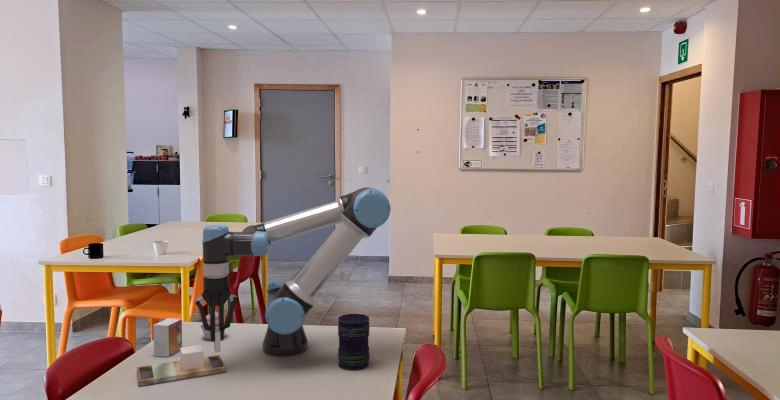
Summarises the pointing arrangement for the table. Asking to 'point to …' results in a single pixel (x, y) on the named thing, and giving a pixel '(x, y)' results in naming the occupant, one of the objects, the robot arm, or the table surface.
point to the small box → (167, 337)
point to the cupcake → (207, 333)
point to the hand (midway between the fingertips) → (217, 351)
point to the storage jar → (353, 342)
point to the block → (192, 357)
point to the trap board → (178, 371)
